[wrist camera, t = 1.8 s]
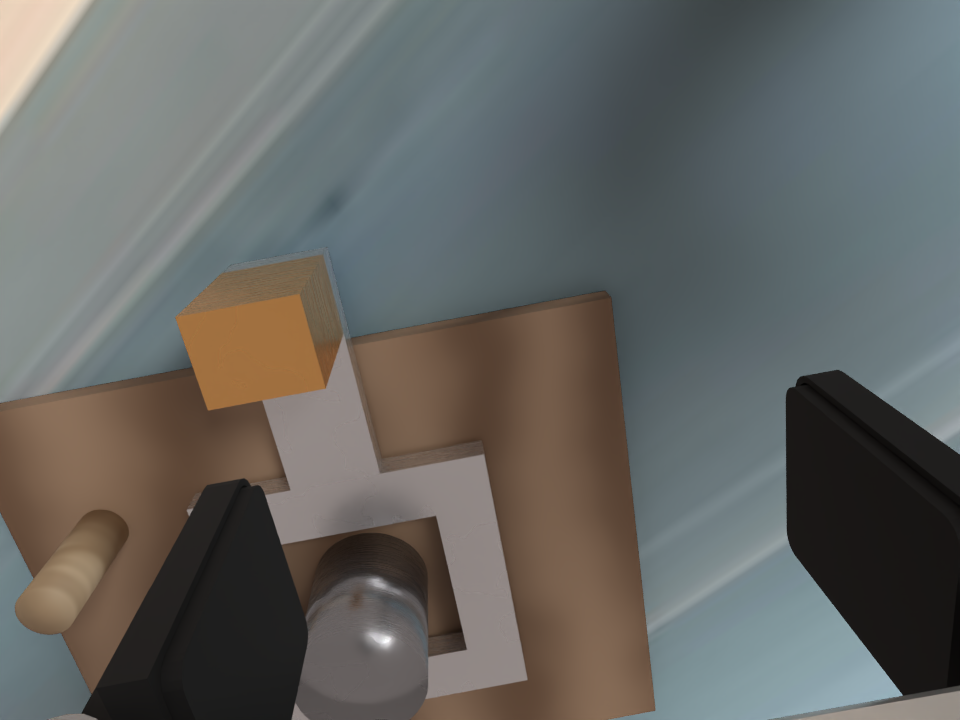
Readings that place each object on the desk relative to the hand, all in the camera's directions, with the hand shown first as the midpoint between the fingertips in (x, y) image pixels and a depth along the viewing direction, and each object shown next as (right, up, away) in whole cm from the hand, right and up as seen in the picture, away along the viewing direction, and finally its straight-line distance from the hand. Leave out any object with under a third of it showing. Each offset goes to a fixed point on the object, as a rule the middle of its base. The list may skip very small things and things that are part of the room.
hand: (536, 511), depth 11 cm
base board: (-7, -7, +22) cm, 24 cm away
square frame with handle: (-6, -3, +19) cm, 20 cm away
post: (-6, -7, +21) cm, 23 cm away
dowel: (-17, -5, +19) cm, 26 cm away
